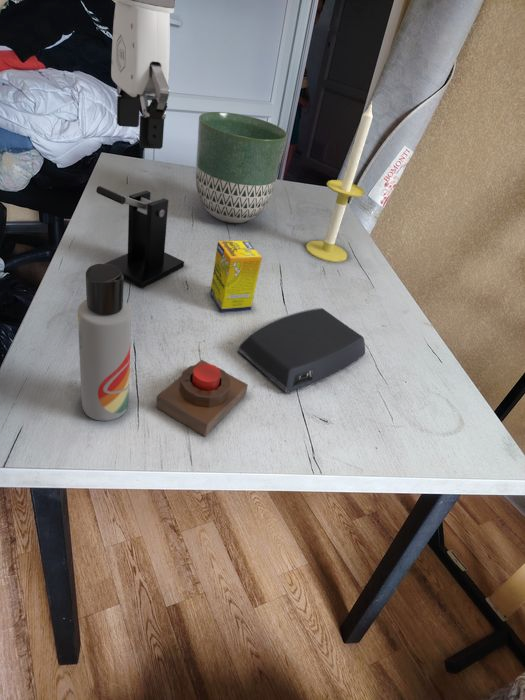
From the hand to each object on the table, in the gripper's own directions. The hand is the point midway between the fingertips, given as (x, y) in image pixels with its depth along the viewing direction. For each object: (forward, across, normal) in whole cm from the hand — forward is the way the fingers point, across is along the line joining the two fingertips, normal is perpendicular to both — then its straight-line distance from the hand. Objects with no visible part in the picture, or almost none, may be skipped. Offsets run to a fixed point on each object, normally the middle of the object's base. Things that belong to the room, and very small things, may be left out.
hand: (138, 136), depth 69 cm
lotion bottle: (+26, +27, -13) cm, 39 cm away
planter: (+26, -25, +32) cm, 49 cm away
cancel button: (+22, +30, 0) cm, 37 cm away
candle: (+26, -6, +48) cm, 55 cm away
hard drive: (+26, +25, +20) cm, 41 cm away
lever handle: (+13, -4, 0) cm, 13 cm away
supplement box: (+26, +9, +15) cm, 31 cm away
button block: (+26, +30, 0) cm, 40 cm away
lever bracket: (+26, -6, +4) cm, 27 cm away
